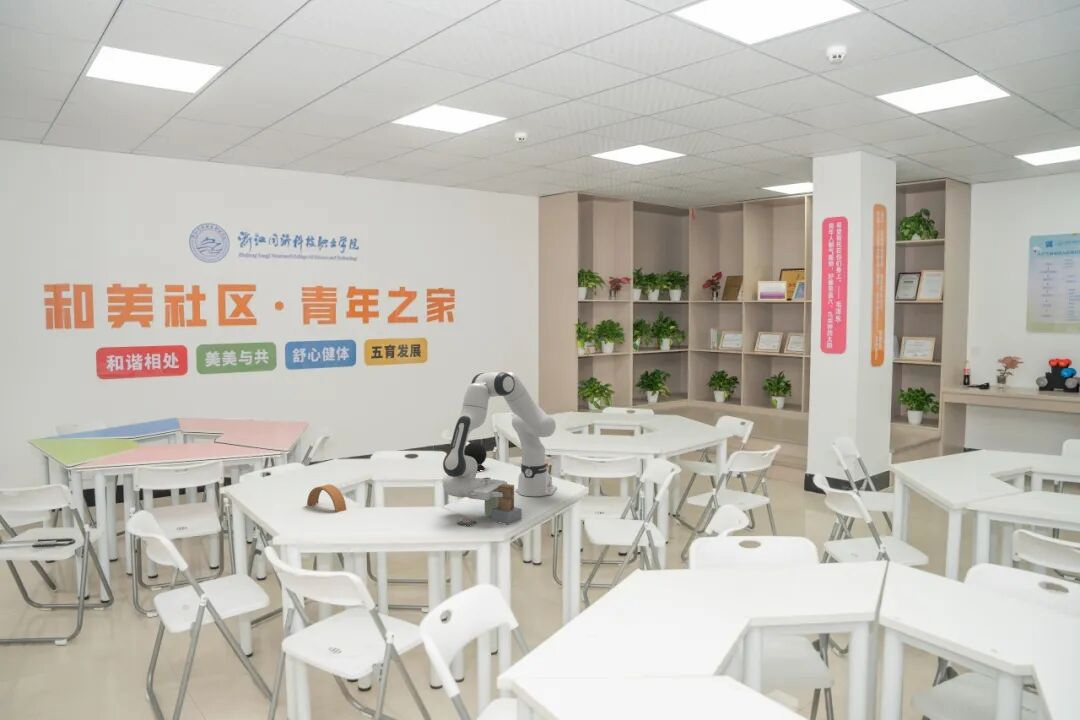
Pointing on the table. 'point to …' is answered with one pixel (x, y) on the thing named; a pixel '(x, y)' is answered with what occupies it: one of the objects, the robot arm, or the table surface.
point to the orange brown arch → (333, 493)
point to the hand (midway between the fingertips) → (508, 492)
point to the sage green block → (490, 505)
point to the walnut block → (506, 497)
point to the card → (466, 522)
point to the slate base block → (506, 515)
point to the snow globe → (476, 453)
